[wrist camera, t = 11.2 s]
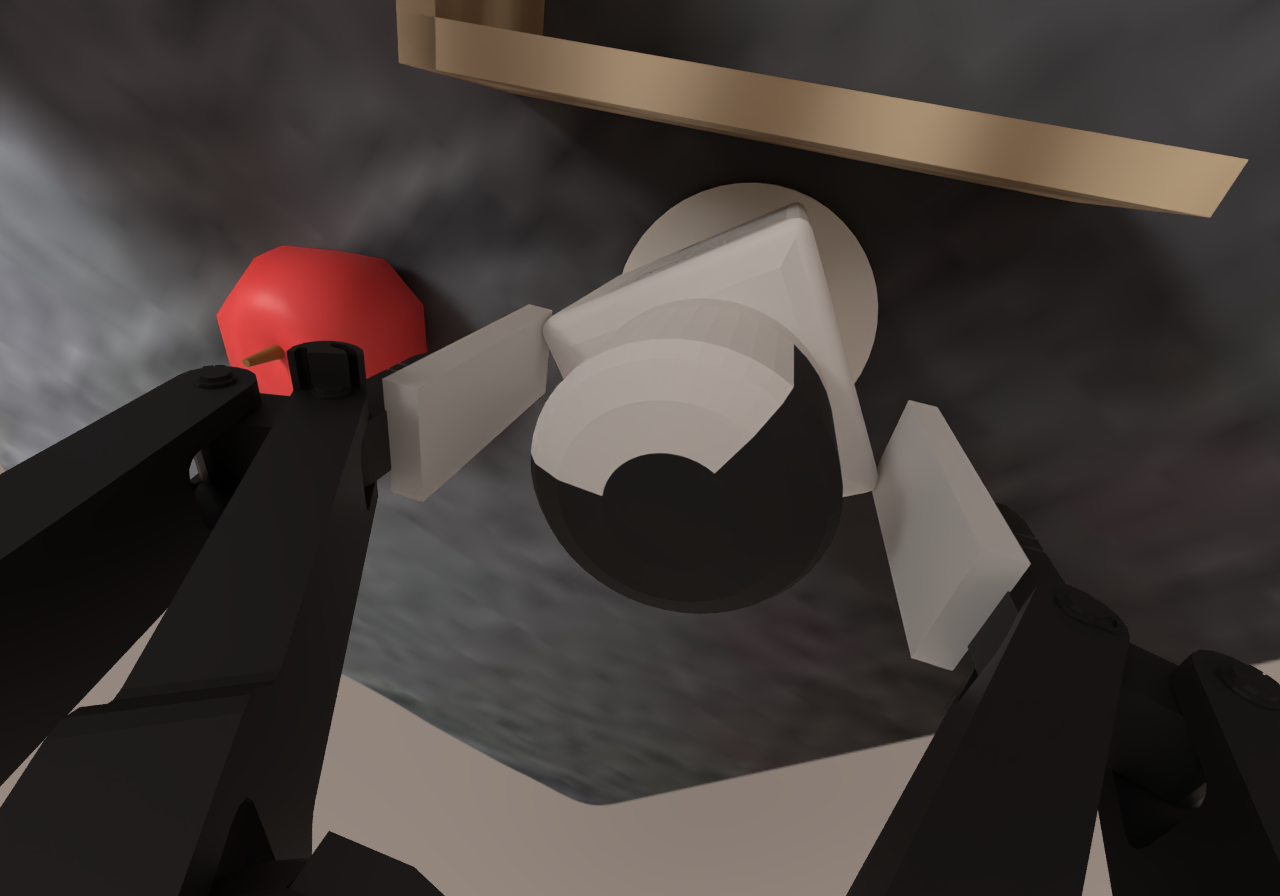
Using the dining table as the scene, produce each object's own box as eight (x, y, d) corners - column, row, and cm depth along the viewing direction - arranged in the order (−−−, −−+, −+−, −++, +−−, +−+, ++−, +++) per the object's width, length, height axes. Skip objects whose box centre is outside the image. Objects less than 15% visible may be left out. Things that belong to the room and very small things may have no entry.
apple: (409, 213, 25) (260, 230, 18) (474, 373, 28) (368, 440, 21) (290, 255, 27) (120, 284, 21) (361, 396, 30) (234, 462, 24)
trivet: (603, 402, 26) (599, 407, 26) (640, 157, 21) (636, 156, 20) (822, 463, 25) (822, 469, 24) (923, 214, 19) (927, 216, 19)
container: (856, 393, 21) (924, 640, 10) (679, 440, 24) (582, 670, 13) (803, 197, 19) (816, 239, 7) (612, 277, 22) (419, 393, 10)
